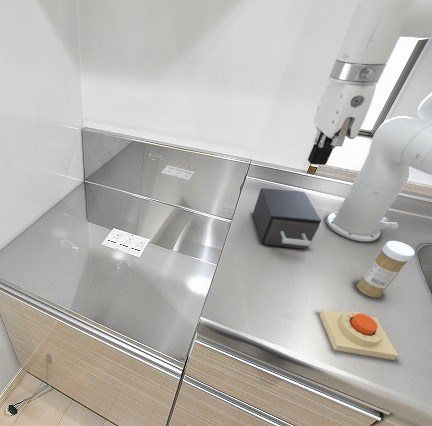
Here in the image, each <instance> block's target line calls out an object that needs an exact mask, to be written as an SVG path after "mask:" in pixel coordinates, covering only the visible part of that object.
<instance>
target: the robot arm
mask: <svg viewBox="0 0 432 426" xmlns="http://www.w3.org/2000/svg"><path fill="white" fill-rule="evenodd" d="M400 39H407V40H427V39H432V0H358V3H357V5H356V8H355V10H354V13H353V15H352V18H351V20H350V22H349V26H348V28H347V29H346V33H345V36H344V38H343V41H342V43H341V46H340V49H339V51H338V54H337V57H336V59H335V61H334V63H333V66H332V68H331V72H330V74H329V77H328V80H329V81H328V84H327V86H326V88H325V90H324V93H323V95H322V97H321V100H320V102H319V104H318V106H317V109H316V111H315V114H314V117H313V123H314V125H315V126H316V127H315V128H316V130H317V132H316V135H315V138H314V143H313V146H312V148H311V151H310V153H309V156H308V157H307V161H308V162H309V164H310V165H319V166H320V165H321V166H325V165H327V164H328V161H329V159H330V156H331V155H332V153H333V150H334V149H336V147H339V148H340V147H343V146H344V143H345V140H346V137H347V138H348V139H350V140H354V139H356V138H357V137H358V134H359V133H360V130H361V129H362V126H363V124H364V121H365V120H366V117H367V115H368V113H369V110H370V107H371V104H372V102H373V99H374V96H375V92H376V88H377V84H378V83H379V81H380V79H381V77H382V74H383V72H384V70H385V68H386V66H387V64H388V63H389V60H390V58H391V56H392V54H393V52H394V50H395V48H396V46H397V44H398V42H399V40H400ZM417 116H418V118H416V117H413V116H411V117H410V116H396V117H392V118H390V119H386V120H385V121H384V122H383V123H381V124H380V125H379V126H378V127H377V129H376V130H375V132H374V134H373V135H372V139H371V143H370V147H369V150H368V153H367V156H366V158H365V160H364V162H363V164H362V166H361V168H360V170H359V172H358V174H357V176H356V177H355V179H354V181H353V183H352V185H351V186H350V188H349V189H348V192H347V193H346V195H345V197H344V199H343V201H342V202H341V205H340V207H339V209H338V210H337V211H334V212H331V213H330V214H328V216H327V217H326V224H327V226H328V227H329V228H330V229H331V230H332V231H333V232H335V233H336V234H337V235H340V236H342V237H344V238H346V239H349V240H353V241H356V242H364V243H365V242H374V241H376V240H377V239H378V238H379V237H380V235H381V230H384V229H387V230H398V229H399V222H391V221H389V219H388V217H386V214H387V212H388V211H389V210H390V208H391V207H392V205H393V203H394V202H395V201H396V199H397V198H398V196H399V195H400V194H401V192H402V191H403V189H404V188H405V186H406V184H407V183H408V179H409V177H410V168H413V169H415V170H417V171H420V172H422V173H425V174H427V175H431V176H432V92H431V93H430V94H429V95H428V96H427V97H426V98H424V99H423V100H422V102H421V103H420V104H419V106H418V108H417Z"/></svg>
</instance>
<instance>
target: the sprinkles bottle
mask: <svg viewBox="0 0 432 426" xmlns="http://www.w3.org/2000/svg"><path fill="white" fill-rule="evenodd" d="M415 254H416V252H415V250H414V248H412V247H411V246H410V245H408V244H406V243H404V242H401V241H397V240H388V241H387V242H385V244H384V245H383V247H382V248H381V251H380V253H379V254H378V255H377V257H376V258H375V260H374V261H372V263H371V264H370V266H369V267H368V269H367V270H366V271H365V273H364V274H363V276H362V278H361V279H360V281H358V282H357V283H356V288H357V289H358V290H359V292H361V293H362V294H364V295H365V296H368V297H370V298H380V297H381V296H382V293H383V292H384V291H385V290H386V289H387V288H388V287H389V286H390V284H391V283H392V282H393V281H394V280H395V278H396V277H397V275H398V274H399V273H400V272H401V270H402V269H403V268H404V266H405V265H406V264H407V263H408V262H410V261H411V260H412V258H413V257H414V256H415Z"/></svg>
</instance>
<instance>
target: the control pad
mask: <svg viewBox="0 0 432 426" xmlns="http://www.w3.org/2000/svg"><path fill="white" fill-rule="evenodd" d="M356 314H363V312H360V311H353V310H349V311H345V312H341V311H335V310H328V309H322V310H321V311H320V312H319V314H318V315H319V318H320V321H321V322H322V324H323V327H324V329H325V332H326V334H327V337H328V339H329V341H330V343H331V346H332V349H333V351H336V352H337V351H338V352H344V353H351V354H355V355H360V356H361V355H362V356H368V357H374V358H379V359H384V360H385V359H386V360H391V361H394V360H395V359H397V358H398V356H399V354H398V352H397V350H396V349H395V347H394V345H393V343H392V341H391V340H390V337H388V335H387V333H386V331H385V329H384V328H383V326H382V325H381V323H380V320H379V319H378V317H374V316H370V317H371V318H372V319H373V320H374V321H375V322H376V323H377V326H378V327H377V329H376V330H375V332H374V333H373V334H372V335H363V334H361V333H359V332H357V331H356V330H355V329H354V328H353V327H352V326H351V323H350V321H351V320H352V318H353V317H354V316H355V315H356Z"/></svg>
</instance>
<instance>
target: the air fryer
mask: <svg viewBox="0 0 432 426" xmlns="http://www.w3.org/2000/svg"><path fill="white" fill-rule="evenodd" d="M307 195H308V194H306V192H305V191H301V190H300V191H298V190H288V189H275V188H264V187H263V188H262V187H261V188H260V190H259V193H258V196H257V200H256V202H255V205H254V208H253V212H252V218H253V221H254V224H255V228H256V231H257V235H258V239H259V242H260V244H262V245H266V244H265V242H264V241H265V238H266V235H267V233H268V230H269V228H270V225H271V223H272V220H273V219H284V220H294V221H304V222H311V223H317V224H318V225H319V226H320V224H321V222H322V219H321V217H320V215H319V214H318V212H317V211H316V208H315V207H314V205H313V204H312V202H311V200H310V199H309V197H308V196H307Z"/></svg>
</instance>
